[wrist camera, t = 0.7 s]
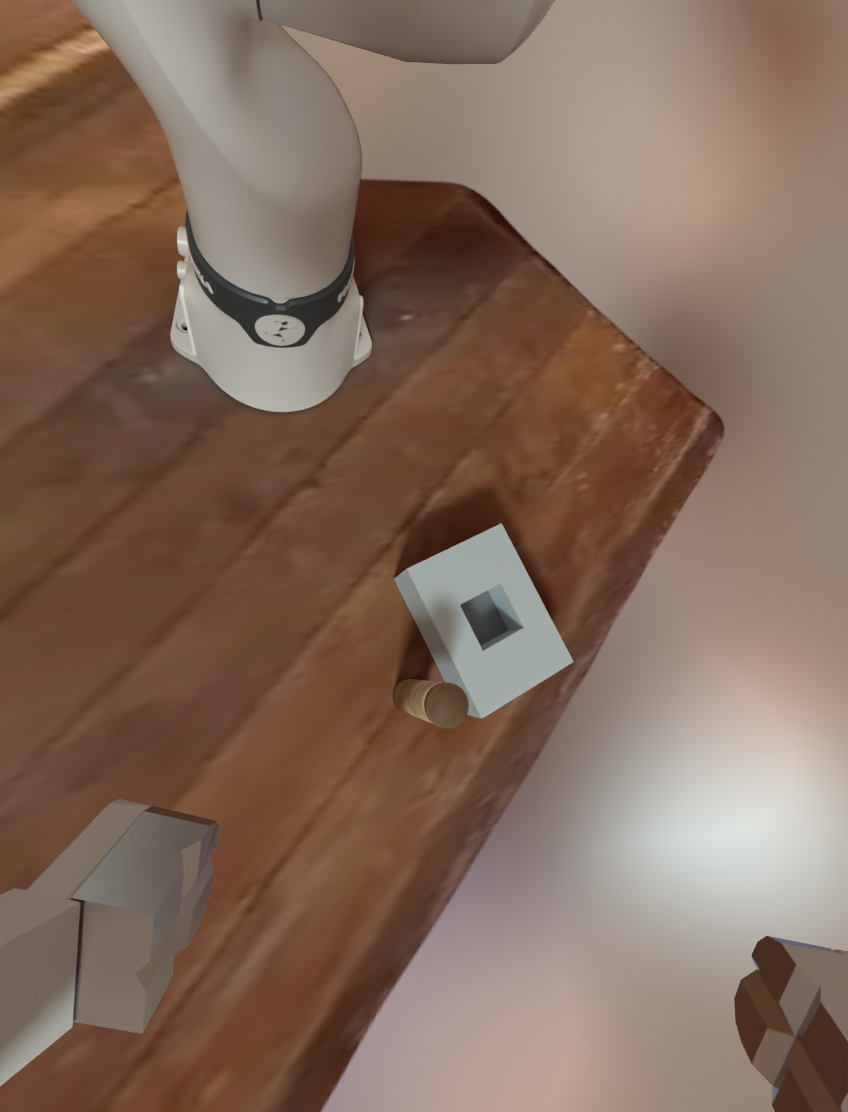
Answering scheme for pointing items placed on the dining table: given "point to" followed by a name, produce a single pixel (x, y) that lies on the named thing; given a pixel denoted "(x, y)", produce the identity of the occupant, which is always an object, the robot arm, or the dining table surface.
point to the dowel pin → (432, 701)
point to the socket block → (483, 620)
